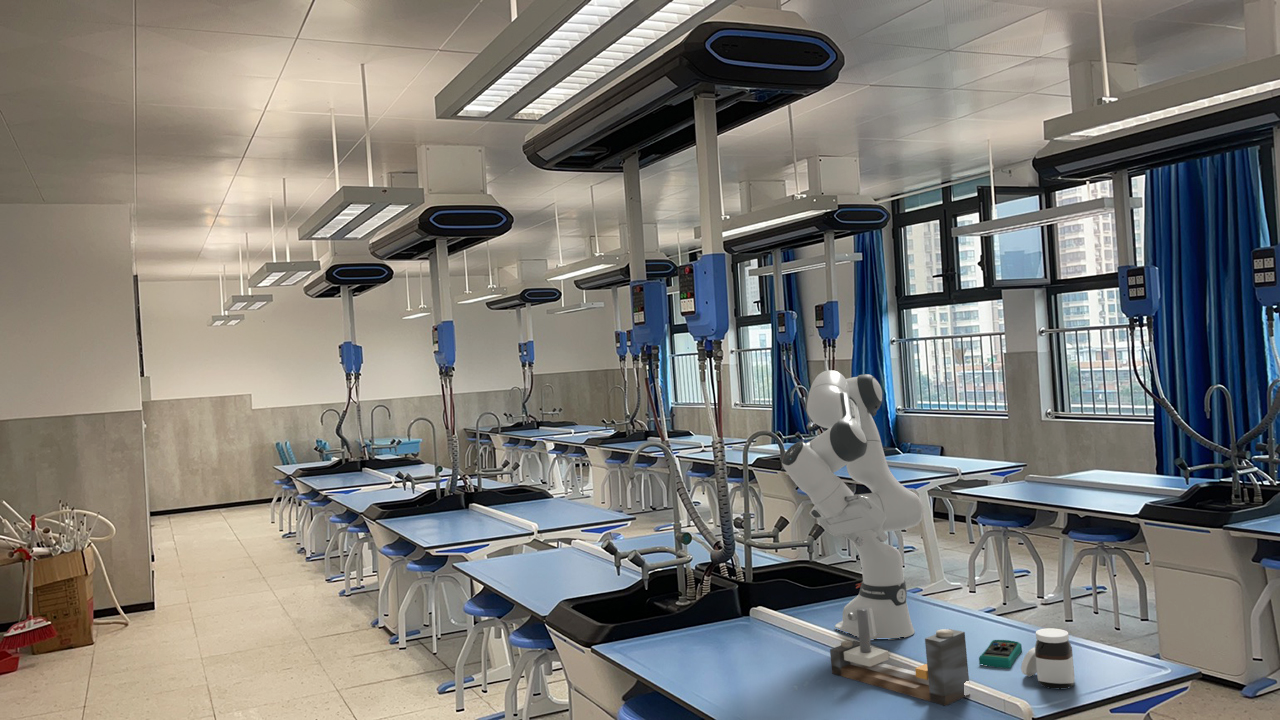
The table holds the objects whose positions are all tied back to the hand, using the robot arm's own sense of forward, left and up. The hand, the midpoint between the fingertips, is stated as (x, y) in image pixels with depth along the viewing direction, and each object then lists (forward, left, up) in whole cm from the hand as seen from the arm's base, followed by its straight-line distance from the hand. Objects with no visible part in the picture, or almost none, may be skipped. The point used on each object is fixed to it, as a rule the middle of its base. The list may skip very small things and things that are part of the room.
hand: (873, 542), depth 225 cm
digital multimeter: (+13, +29, -33) cm, 46 cm away
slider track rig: (+5, -1, -33) cm, 33 cm away
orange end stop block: (+14, -1, -29) cm, 32 cm away
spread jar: (+30, +21, -33) cm, 49 cm away
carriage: (-4, -1, -29) cm, 29 cm away
